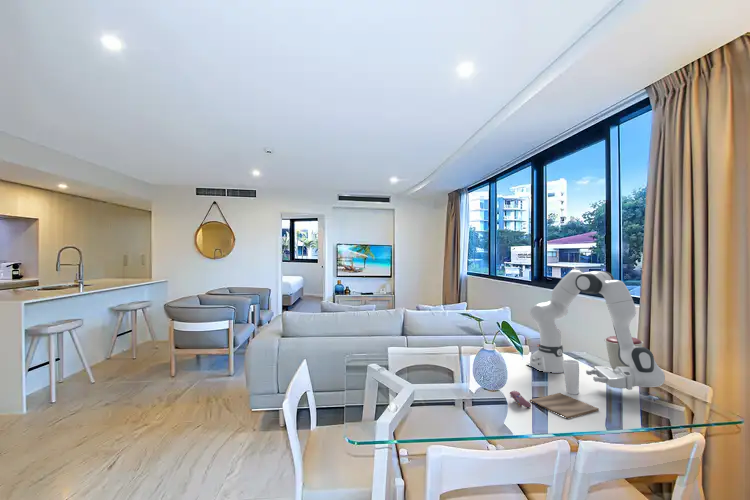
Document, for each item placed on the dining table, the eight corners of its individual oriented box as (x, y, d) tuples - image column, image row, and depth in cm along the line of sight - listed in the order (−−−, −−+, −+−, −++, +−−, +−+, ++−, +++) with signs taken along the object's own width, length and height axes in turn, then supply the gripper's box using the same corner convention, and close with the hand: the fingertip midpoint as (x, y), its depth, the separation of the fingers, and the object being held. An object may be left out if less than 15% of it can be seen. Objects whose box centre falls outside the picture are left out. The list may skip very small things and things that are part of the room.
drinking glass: (582, 396, 170) (580, 363, 170) (567, 395, 171) (565, 363, 172) (577, 390, 177) (576, 359, 177) (562, 390, 178) (561, 359, 178)
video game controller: (513, 403, 169) (506, 390, 169) (521, 398, 169) (514, 385, 169) (524, 412, 159) (516, 398, 159) (532, 407, 159) (524, 393, 159)
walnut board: (530, 401, 166) (529, 399, 166) (559, 394, 172) (559, 392, 172) (566, 419, 147) (566, 416, 147) (598, 410, 154) (598, 408, 154)
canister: (598, 368, 207) (596, 331, 208) (619, 363, 214) (617, 328, 215) (631, 377, 191) (629, 337, 191) (653, 372, 198) (650, 333, 198)
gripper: (613, 363, 180) (582, 362, 183) (632, 376, 160) (597, 376, 163) (613, 375, 180) (583, 375, 183) (633, 391, 160) (598, 390, 163)
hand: (590, 375), depth 172 cm, fingers open, 8 cm apart
